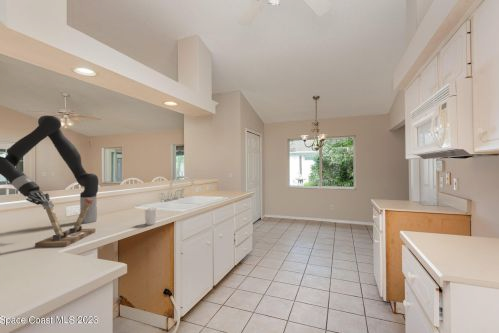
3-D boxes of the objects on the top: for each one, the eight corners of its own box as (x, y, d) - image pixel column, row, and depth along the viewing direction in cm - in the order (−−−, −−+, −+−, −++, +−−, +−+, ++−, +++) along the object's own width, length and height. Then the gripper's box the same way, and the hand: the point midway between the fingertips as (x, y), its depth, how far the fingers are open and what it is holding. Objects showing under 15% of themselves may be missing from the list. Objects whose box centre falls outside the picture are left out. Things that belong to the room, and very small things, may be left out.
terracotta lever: (74, 229, 128) (88, 197, 129) (79, 231, 129) (93, 199, 129) (70, 230, 125) (85, 198, 126) (75, 232, 126) (90, 200, 126)
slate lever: (60, 237, 116) (46, 202, 116) (65, 235, 117) (52, 200, 116) (55, 239, 113) (41, 203, 113) (61, 237, 114) (47, 201, 113)
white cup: (143, 225, 148) (143, 210, 148) (145, 222, 156) (145, 208, 156) (156, 224, 150) (156, 209, 150) (158, 221, 158) (158, 207, 158)
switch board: (69, 232, 132) (69, 224, 132) (95, 232, 134) (95, 224, 134) (35, 247, 108) (35, 237, 108) (66, 246, 110) (66, 237, 110)
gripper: (20, 181, 118) (46, 205, 119) (40, 180, 131) (64, 201, 132) (8, 192, 117) (35, 215, 119) (30, 189, 131) (54, 210, 132)
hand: (50, 207), depth 126 cm, fingers closed
